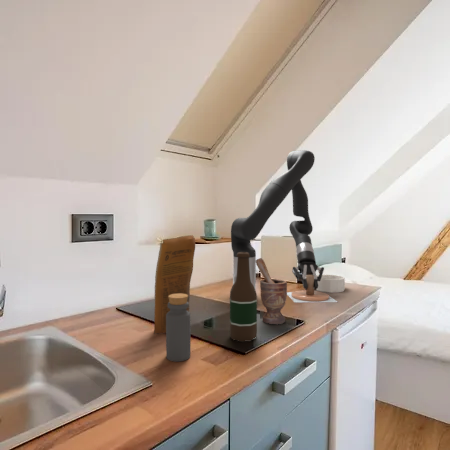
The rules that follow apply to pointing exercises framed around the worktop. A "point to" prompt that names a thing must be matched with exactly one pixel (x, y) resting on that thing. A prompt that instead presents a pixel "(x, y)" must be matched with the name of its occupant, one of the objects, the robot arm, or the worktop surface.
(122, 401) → the worktop surface
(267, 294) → the mortar and pestle
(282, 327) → the worktop surface
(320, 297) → the lid
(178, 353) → the bottle
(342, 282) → the bowl
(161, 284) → the pancake mix bag
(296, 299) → the mat
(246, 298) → the beer bottle
